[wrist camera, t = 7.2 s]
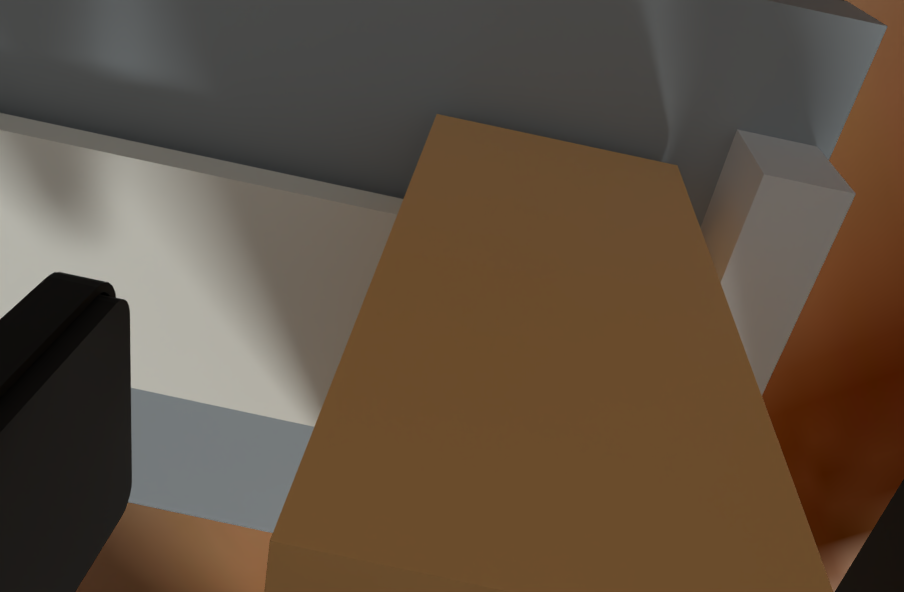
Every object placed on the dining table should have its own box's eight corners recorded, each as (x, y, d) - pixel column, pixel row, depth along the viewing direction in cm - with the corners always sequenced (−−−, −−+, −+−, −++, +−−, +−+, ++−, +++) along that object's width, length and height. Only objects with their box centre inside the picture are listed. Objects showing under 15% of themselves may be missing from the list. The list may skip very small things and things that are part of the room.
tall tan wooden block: (677, 165, 10) (859, 665, 4) (557, 516, 13) (561, 1104, 7) (-263, -36, 10) (-1458, 172, 4) (-171, 362, 13) (-781, 820, 7)
